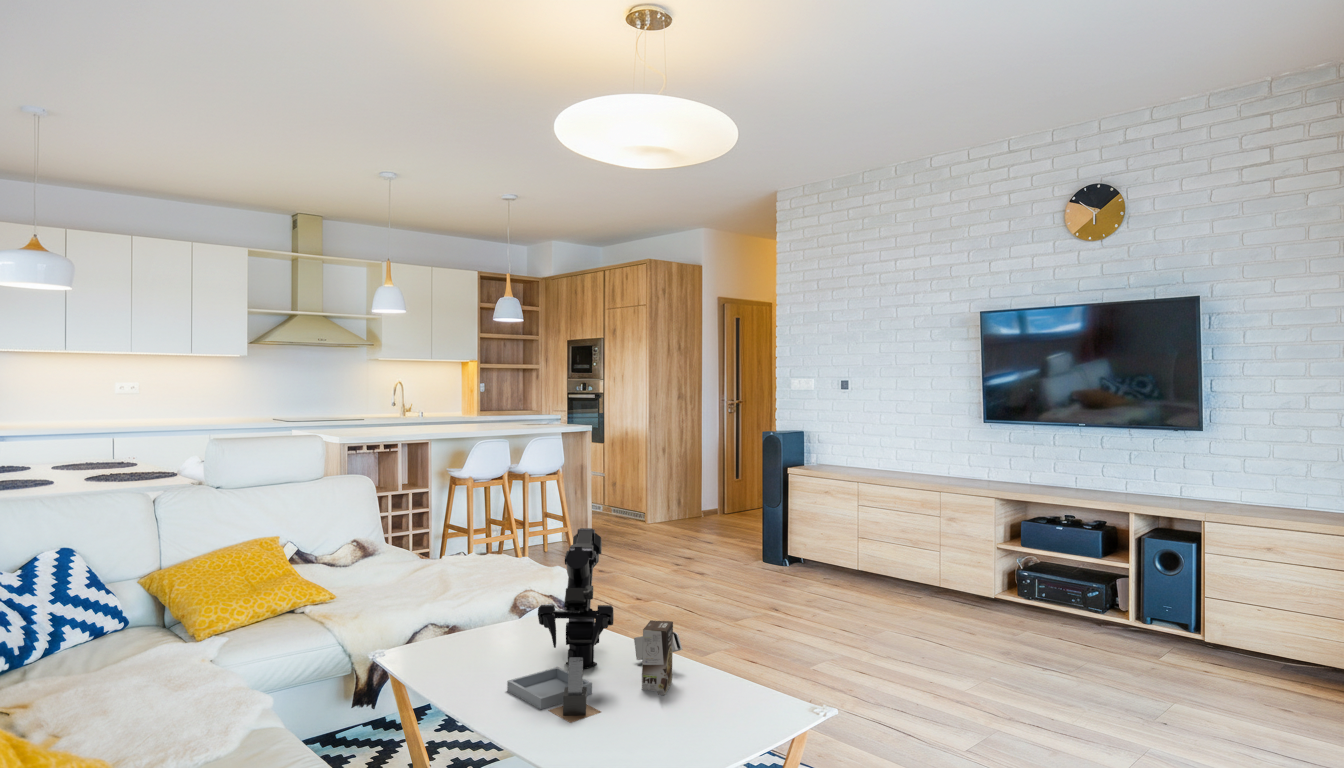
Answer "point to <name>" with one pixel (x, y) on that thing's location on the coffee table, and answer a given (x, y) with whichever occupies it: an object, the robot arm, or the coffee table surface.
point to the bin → (543, 687)
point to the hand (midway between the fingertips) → (573, 647)
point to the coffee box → (657, 656)
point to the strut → (575, 690)
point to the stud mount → (559, 712)
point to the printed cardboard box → (639, 645)
